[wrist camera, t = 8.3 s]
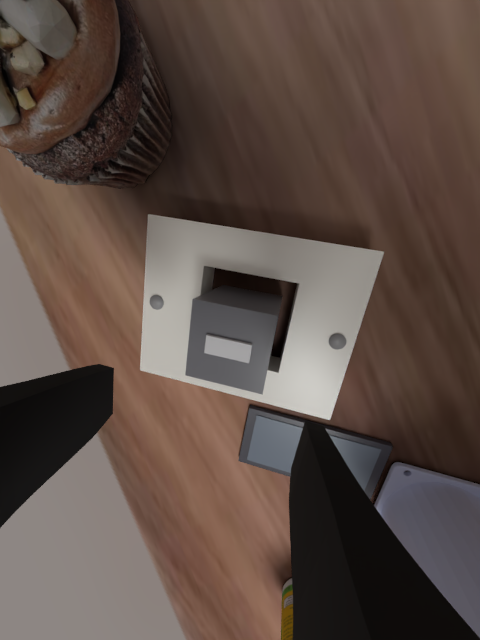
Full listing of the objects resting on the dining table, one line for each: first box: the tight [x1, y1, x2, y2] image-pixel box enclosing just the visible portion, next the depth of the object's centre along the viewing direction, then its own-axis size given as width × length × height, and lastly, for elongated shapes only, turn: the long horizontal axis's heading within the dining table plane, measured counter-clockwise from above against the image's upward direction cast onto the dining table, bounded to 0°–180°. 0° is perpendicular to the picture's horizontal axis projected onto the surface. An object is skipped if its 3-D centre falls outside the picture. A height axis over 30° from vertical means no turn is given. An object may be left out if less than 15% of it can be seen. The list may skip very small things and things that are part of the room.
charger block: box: [185, 285, 283, 395], centre depth 15 cm, size 4×4×6 cm
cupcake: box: [0, 0, 172, 189], centre depth 12 cm, size 10×10×10 cm
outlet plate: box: [140, 214, 384, 420], centre depth 17 cm, size 14×11×3 cm
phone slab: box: [239, 405, 393, 499], centre depth 20 cm, size 6×11×1 cm, turn 81°
